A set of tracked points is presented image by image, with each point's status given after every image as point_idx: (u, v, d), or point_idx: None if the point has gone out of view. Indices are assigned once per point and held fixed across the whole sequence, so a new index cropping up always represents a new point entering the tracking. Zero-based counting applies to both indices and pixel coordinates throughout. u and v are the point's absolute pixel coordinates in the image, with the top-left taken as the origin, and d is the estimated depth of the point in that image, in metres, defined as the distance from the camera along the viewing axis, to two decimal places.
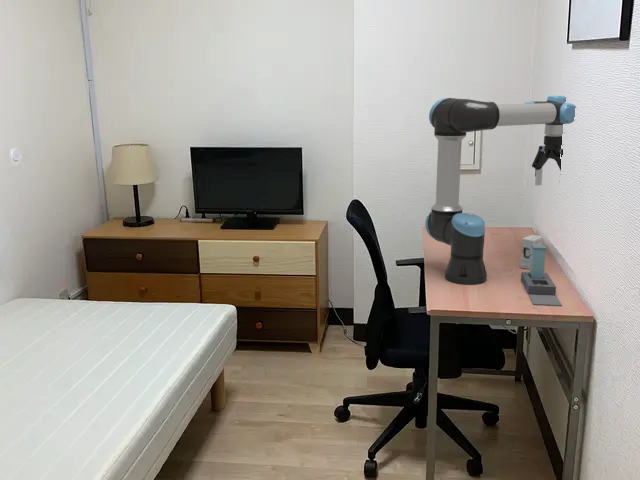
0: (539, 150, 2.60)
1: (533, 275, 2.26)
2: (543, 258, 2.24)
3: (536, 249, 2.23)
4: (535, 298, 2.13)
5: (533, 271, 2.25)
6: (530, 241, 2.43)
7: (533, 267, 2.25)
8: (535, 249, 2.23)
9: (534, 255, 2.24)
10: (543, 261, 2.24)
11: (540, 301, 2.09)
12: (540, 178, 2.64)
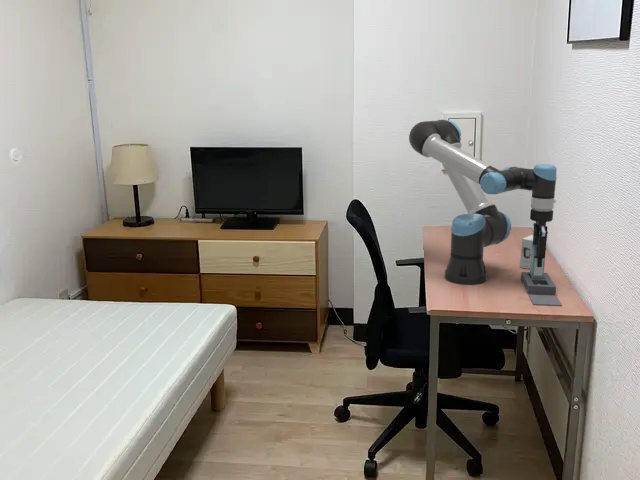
0: None
1: (533, 275, 2.26)
2: None
3: None
4: (535, 298, 2.13)
5: (533, 271, 2.25)
6: (530, 241, 2.43)
7: (533, 267, 2.25)
8: (535, 249, 2.23)
9: (534, 255, 2.24)
10: (543, 261, 2.24)
11: (540, 301, 2.09)
12: None
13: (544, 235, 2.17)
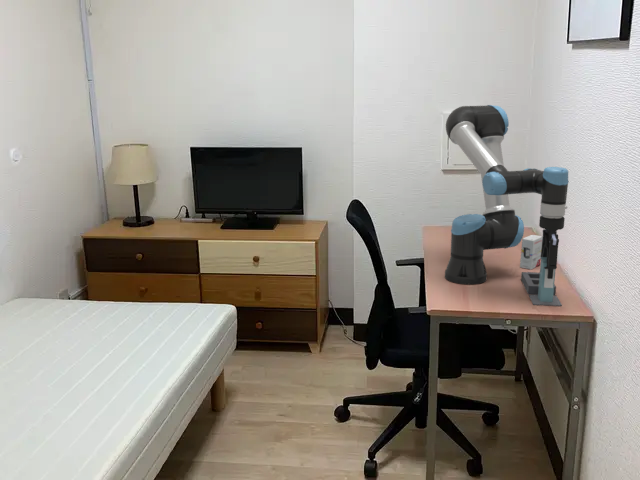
0: None
1: (542, 290, 2.09)
2: None
3: (546, 262, 2.06)
4: (535, 298, 2.13)
5: (542, 286, 2.08)
6: (530, 241, 2.43)
7: (542, 281, 2.08)
8: (545, 262, 2.06)
9: (543, 269, 2.07)
10: None
11: None
12: None
13: (555, 244, 2.00)
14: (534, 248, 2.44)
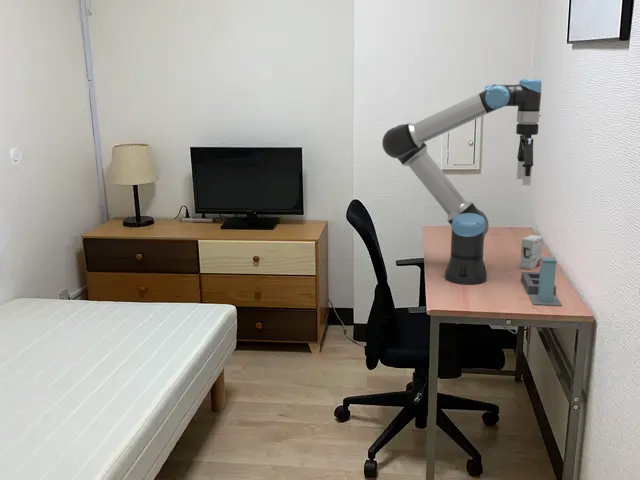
0: None
1: (542, 290, 2.09)
2: (553, 272, 2.07)
3: (546, 262, 2.06)
4: (535, 298, 2.13)
5: (542, 286, 2.08)
6: (530, 241, 2.43)
7: (542, 281, 2.08)
8: (545, 262, 2.06)
9: (543, 269, 2.07)
10: (553, 275, 2.07)
11: None
12: (523, 171, 2.38)
13: (530, 142, 2.23)
14: (534, 248, 2.43)
